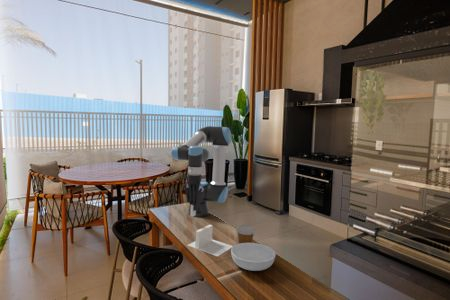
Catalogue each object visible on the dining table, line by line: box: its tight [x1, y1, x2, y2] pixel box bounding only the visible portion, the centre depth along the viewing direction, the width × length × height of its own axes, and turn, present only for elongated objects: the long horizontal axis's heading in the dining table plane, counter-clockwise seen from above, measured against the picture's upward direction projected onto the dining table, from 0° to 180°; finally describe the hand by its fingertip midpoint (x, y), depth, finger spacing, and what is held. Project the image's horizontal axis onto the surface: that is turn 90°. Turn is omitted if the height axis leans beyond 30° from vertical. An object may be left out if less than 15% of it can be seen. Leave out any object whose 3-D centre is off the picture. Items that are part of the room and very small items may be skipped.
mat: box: [187, 238, 234, 258], centre depth 145 cm, size 15×20×1 cm
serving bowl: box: [230, 242, 276, 272], centre depth 128 cm, size 21×21×7 cm
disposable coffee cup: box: [236, 224, 256, 244], centre depth 144 cm, size 10×10×12 cm
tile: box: [194, 224, 214, 250], centre depth 147 cm, size 12×2×9 cm, turn 146°
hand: (192, 215), depth 151 cm, fingers closed
